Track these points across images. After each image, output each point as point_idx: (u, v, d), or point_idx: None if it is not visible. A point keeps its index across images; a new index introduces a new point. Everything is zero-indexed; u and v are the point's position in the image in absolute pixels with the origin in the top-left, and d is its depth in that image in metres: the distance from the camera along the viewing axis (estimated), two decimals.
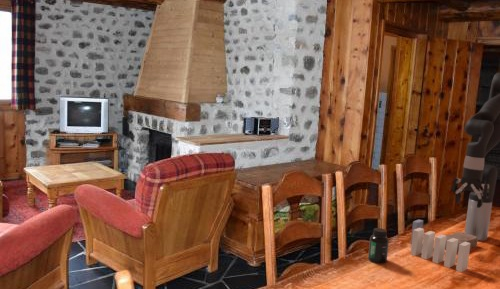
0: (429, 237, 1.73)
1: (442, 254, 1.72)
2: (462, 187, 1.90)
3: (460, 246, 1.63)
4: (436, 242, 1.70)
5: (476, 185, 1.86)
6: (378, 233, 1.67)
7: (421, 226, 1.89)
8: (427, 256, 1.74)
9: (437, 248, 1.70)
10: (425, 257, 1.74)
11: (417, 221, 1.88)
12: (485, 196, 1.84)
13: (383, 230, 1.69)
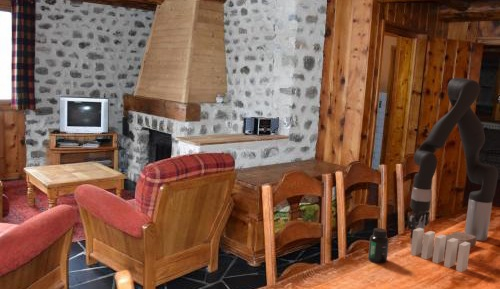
0: (429, 237, 1.73)
1: (442, 254, 1.72)
2: (419, 221, 1.86)
3: (460, 246, 1.63)
4: (436, 242, 1.70)
5: None
6: (378, 233, 1.67)
7: (421, 226, 1.89)
8: (427, 256, 1.74)
9: (437, 248, 1.70)
10: (425, 257, 1.74)
11: None
12: (426, 223, 1.91)
13: (383, 230, 1.69)
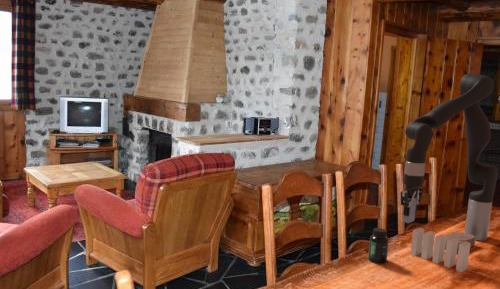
0: (429, 237, 1.73)
1: (442, 254, 1.72)
2: (413, 197, 1.77)
3: (460, 246, 1.63)
4: (436, 242, 1.70)
5: None
6: (378, 233, 1.67)
7: (414, 203, 1.80)
8: (427, 256, 1.74)
9: (437, 248, 1.70)
10: (425, 257, 1.74)
11: None
12: (420, 200, 1.82)
13: (383, 230, 1.69)
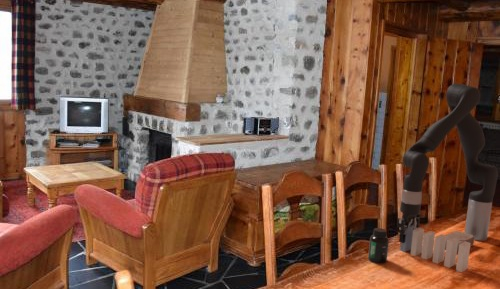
0: (429, 237, 1.73)
1: (442, 254, 1.72)
2: (409, 225, 1.78)
3: (460, 246, 1.63)
4: (436, 242, 1.70)
5: None
6: (378, 233, 1.67)
7: (411, 231, 1.82)
8: (427, 256, 1.74)
9: (437, 248, 1.70)
10: (425, 257, 1.74)
11: None
12: (418, 225, 1.84)
13: (383, 230, 1.69)
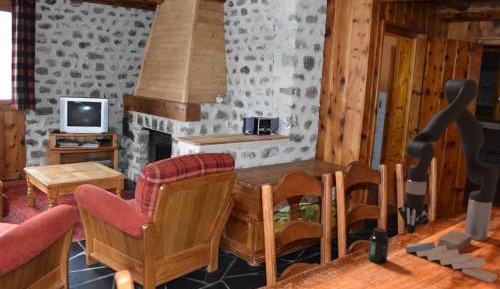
0: (451, 257, 1.67)
1: None
2: None
3: (489, 279, 1.57)
4: (460, 258, 1.64)
5: None
6: (378, 233, 1.67)
7: None
8: None
9: (455, 260, 1.65)
10: (430, 259, 1.72)
11: (430, 246, 1.74)
12: None
13: (383, 230, 1.69)
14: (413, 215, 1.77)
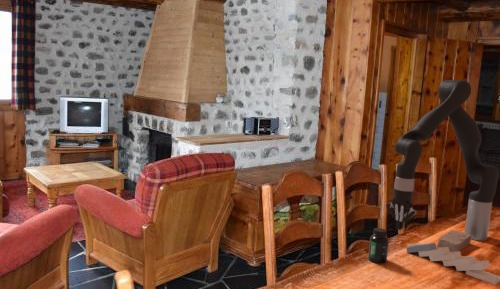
0: (453, 259, 1.66)
1: None
2: None
3: (493, 281, 1.55)
4: (463, 261, 1.62)
5: None
6: (378, 233, 1.67)
7: None
8: (434, 260, 1.72)
9: (458, 263, 1.64)
10: (432, 260, 1.72)
11: (431, 247, 1.73)
12: None
13: (383, 230, 1.69)
14: (401, 211, 1.81)
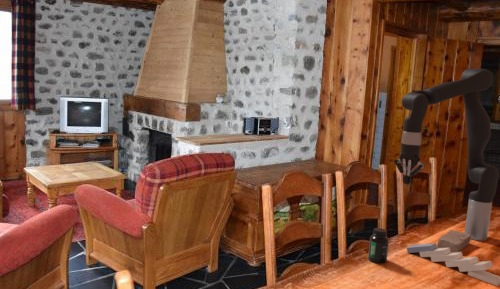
0: None
1: None
2: None
3: (495, 282, 1.54)
4: (465, 262, 1.61)
5: None
6: (378, 233, 1.67)
7: None
8: None
9: (460, 263, 1.63)
10: (433, 260, 1.71)
11: (432, 247, 1.73)
12: None
13: (383, 230, 1.69)
14: (409, 166, 1.82)
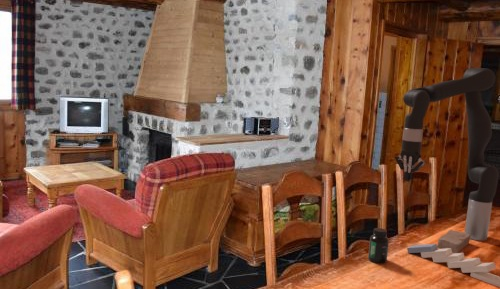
0: None
1: None
2: None
3: (498, 283, 1.53)
4: (467, 263, 1.61)
5: None
6: (378, 233, 1.67)
7: None
8: None
9: (462, 264, 1.62)
10: (435, 261, 1.71)
11: (433, 248, 1.73)
12: None
13: (383, 230, 1.69)
14: (409, 162, 1.82)
